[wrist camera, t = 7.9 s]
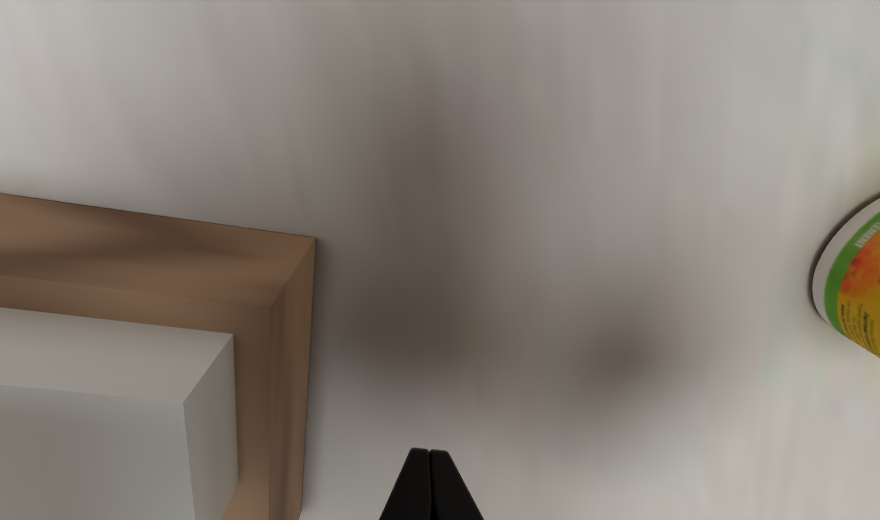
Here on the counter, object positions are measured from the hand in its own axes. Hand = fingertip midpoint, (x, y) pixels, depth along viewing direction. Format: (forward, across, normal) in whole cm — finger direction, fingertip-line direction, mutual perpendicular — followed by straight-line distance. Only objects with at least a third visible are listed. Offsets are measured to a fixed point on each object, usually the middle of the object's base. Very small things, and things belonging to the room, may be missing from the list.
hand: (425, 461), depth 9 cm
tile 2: (+1, +7, 0) cm, 7 cm away
